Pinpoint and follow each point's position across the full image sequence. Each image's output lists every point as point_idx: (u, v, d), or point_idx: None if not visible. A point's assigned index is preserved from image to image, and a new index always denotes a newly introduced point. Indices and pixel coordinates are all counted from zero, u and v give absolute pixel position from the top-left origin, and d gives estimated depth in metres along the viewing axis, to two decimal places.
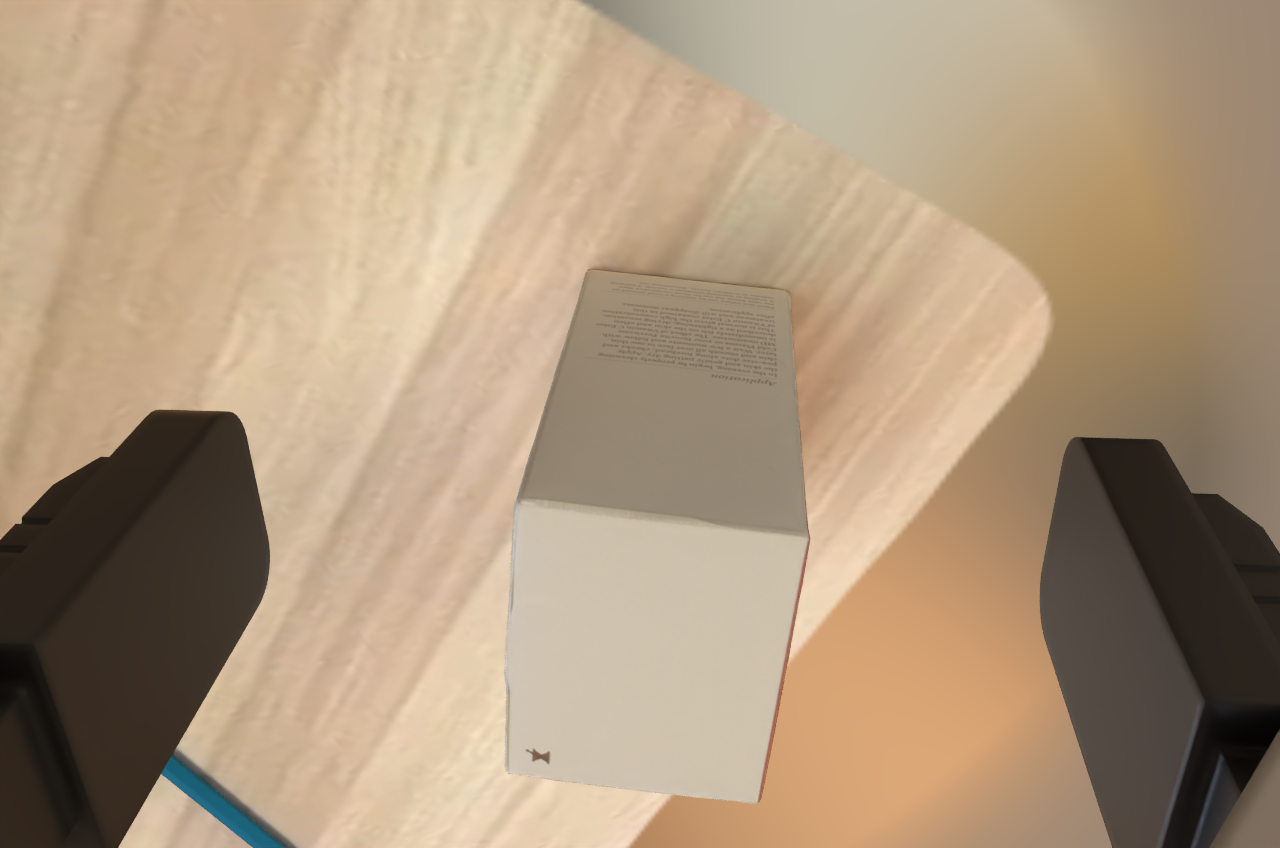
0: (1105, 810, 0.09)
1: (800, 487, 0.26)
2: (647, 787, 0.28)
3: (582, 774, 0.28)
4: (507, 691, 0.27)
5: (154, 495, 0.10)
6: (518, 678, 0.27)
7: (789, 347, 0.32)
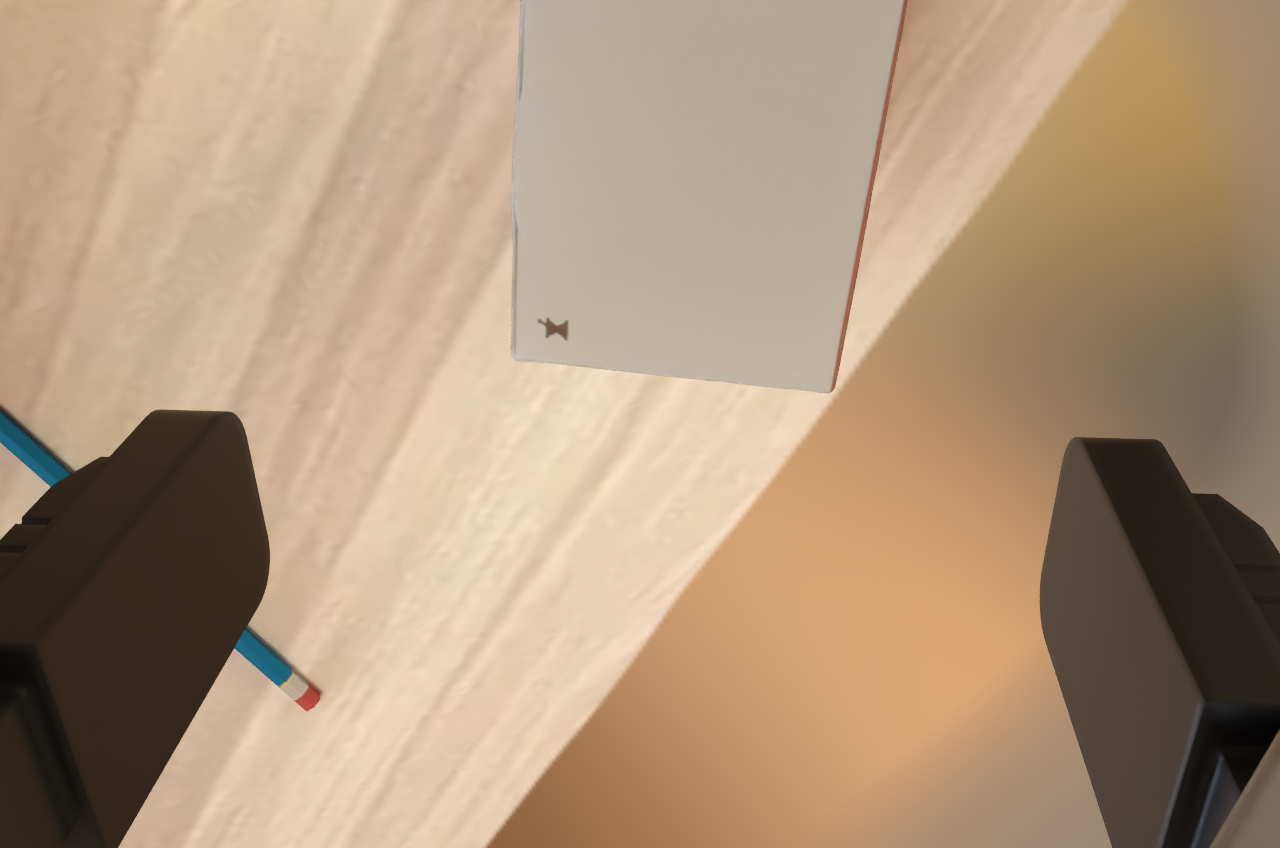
0: (1106, 810, 0.09)
1: None
2: (691, 372, 0.22)
3: (608, 356, 0.22)
4: (514, 229, 0.21)
5: (154, 495, 0.10)
6: (529, 206, 0.21)
7: None
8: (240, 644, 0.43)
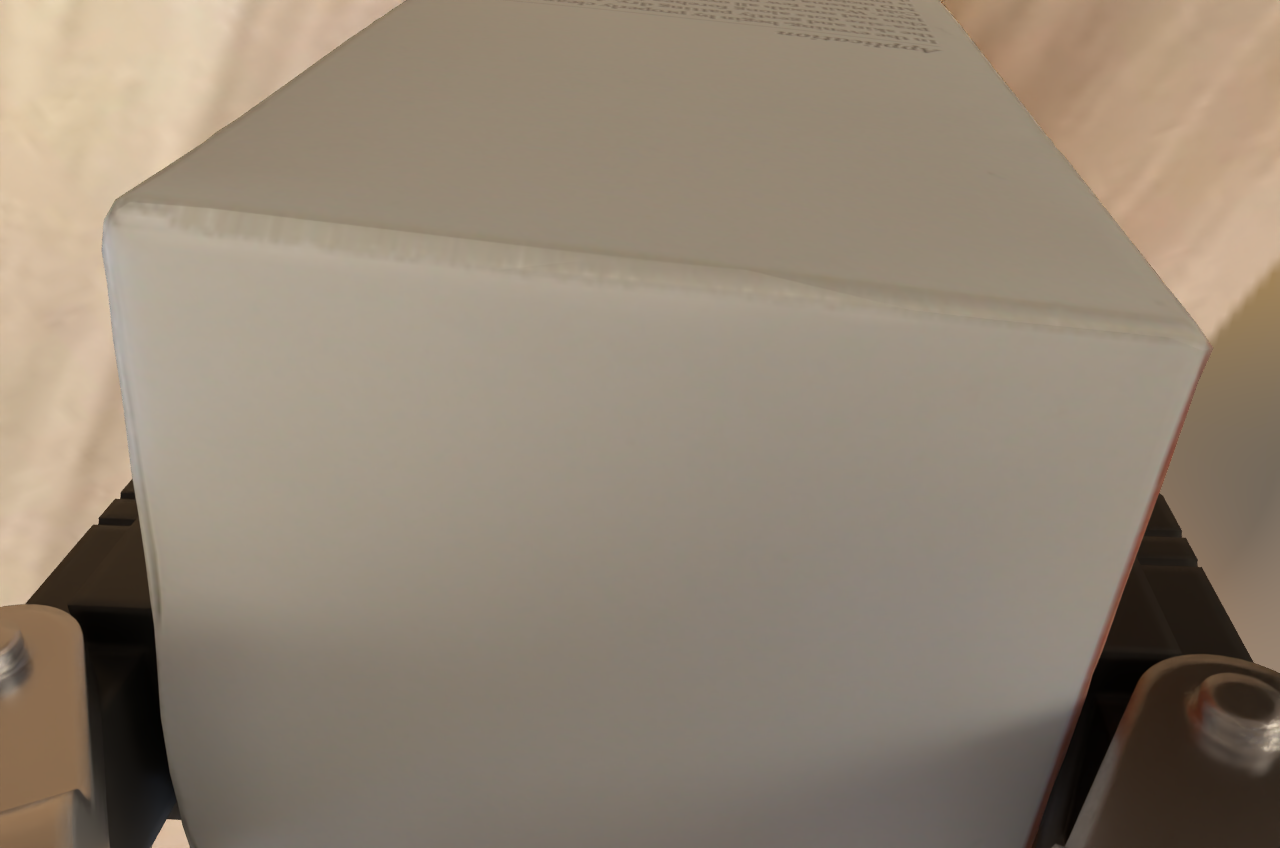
0: None
1: (1105, 216, 0.08)
2: None
3: None
4: None
5: None
6: (219, 825, 0.09)
7: (947, 14, 0.14)
8: None
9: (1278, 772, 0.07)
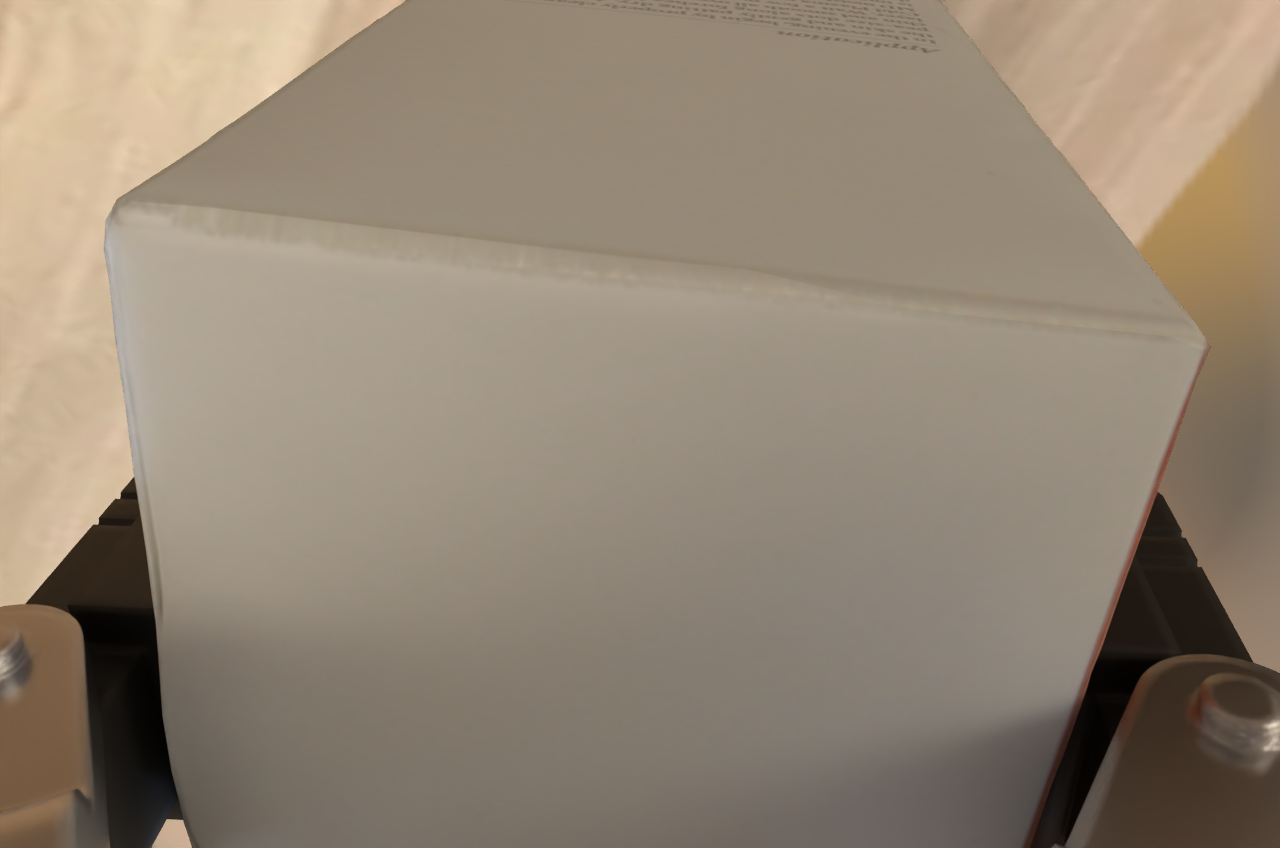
0: None
1: (1104, 215, 0.08)
2: None
3: None
4: None
5: None
6: (220, 823, 0.09)
7: (947, 14, 0.14)
8: None
9: (1277, 772, 0.07)
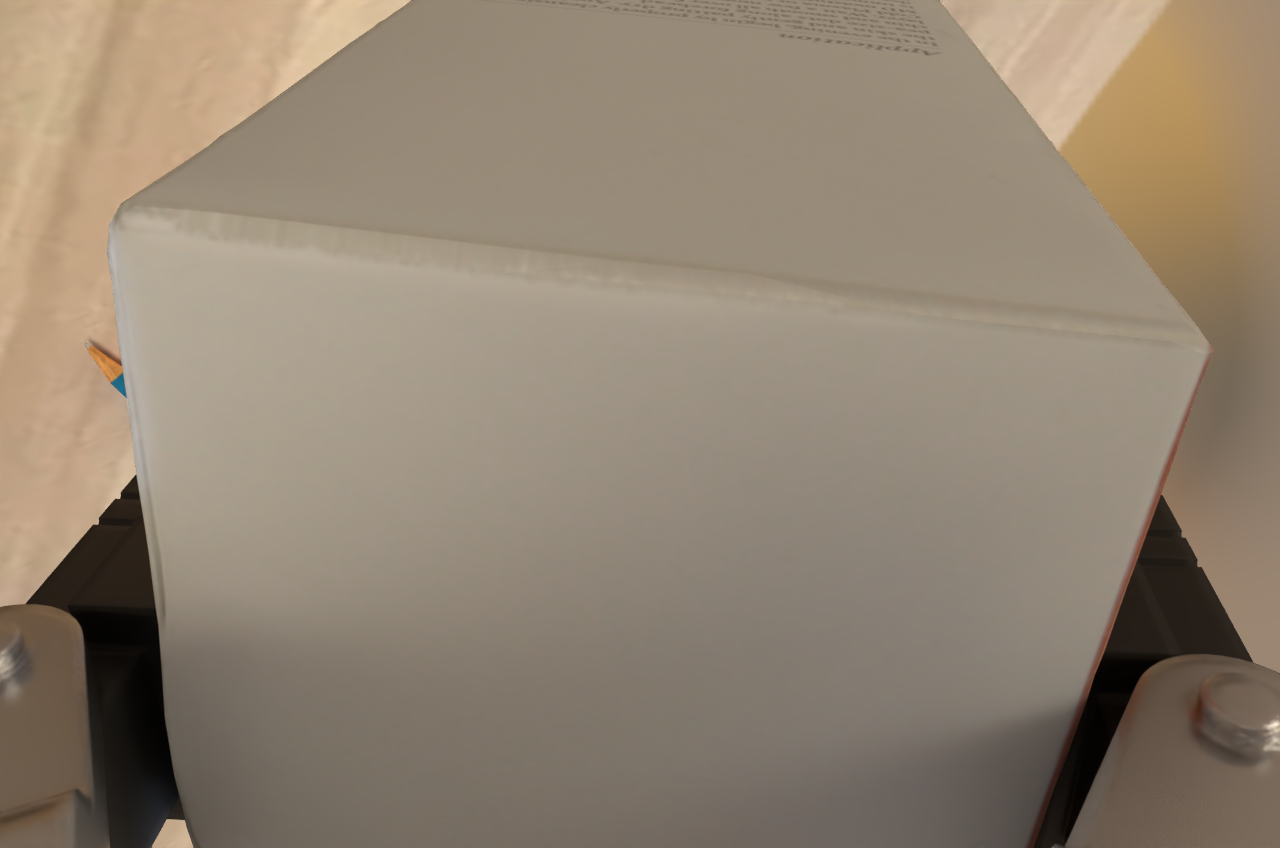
0: None
1: (1107, 219, 0.08)
2: None
3: None
4: None
5: None
6: (223, 825, 0.09)
7: (948, 16, 0.14)
8: None
9: (1277, 772, 0.07)
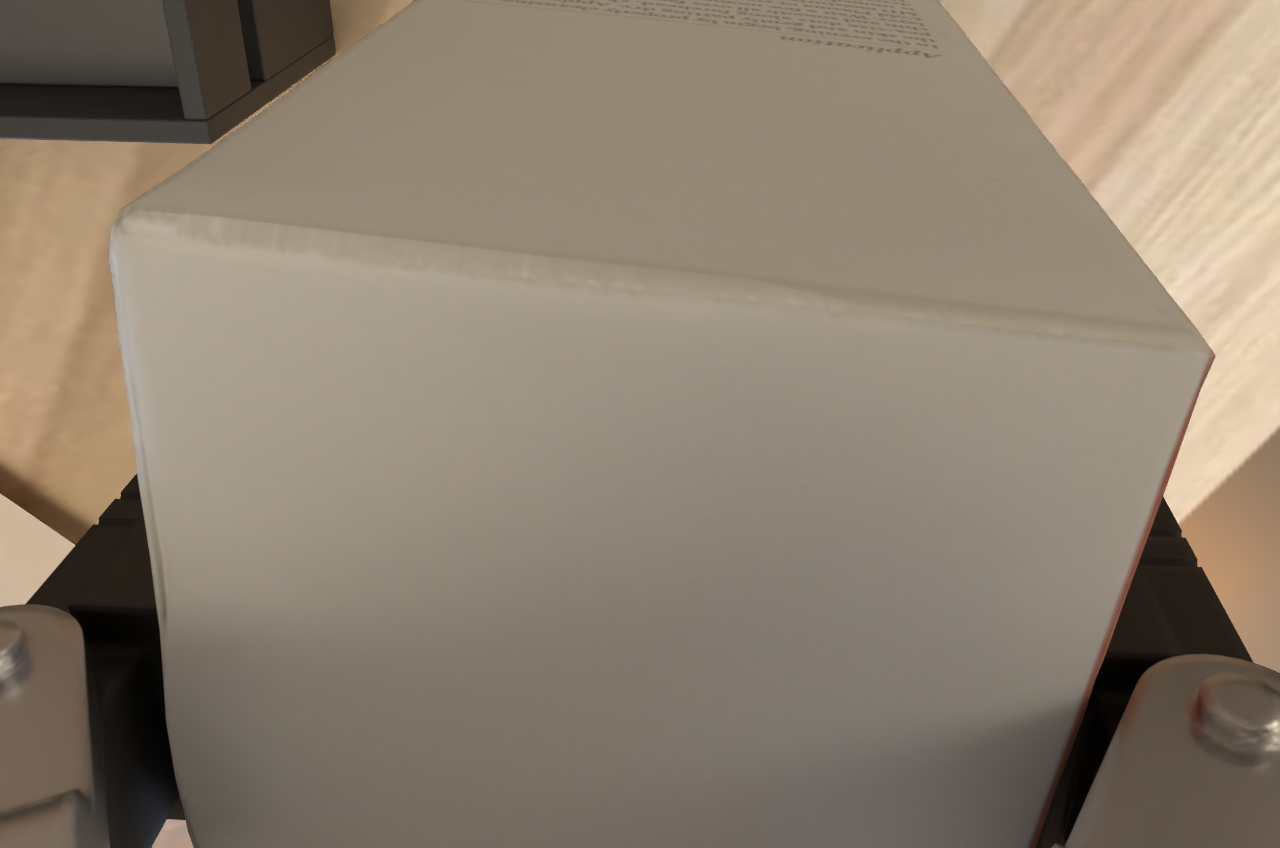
0: None
1: (1108, 223, 0.08)
2: None
3: None
4: None
5: None
6: (223, 829, 0.09)
7: (949, 19, 0.14)
8: None
9: (1277, 772, 0.07)
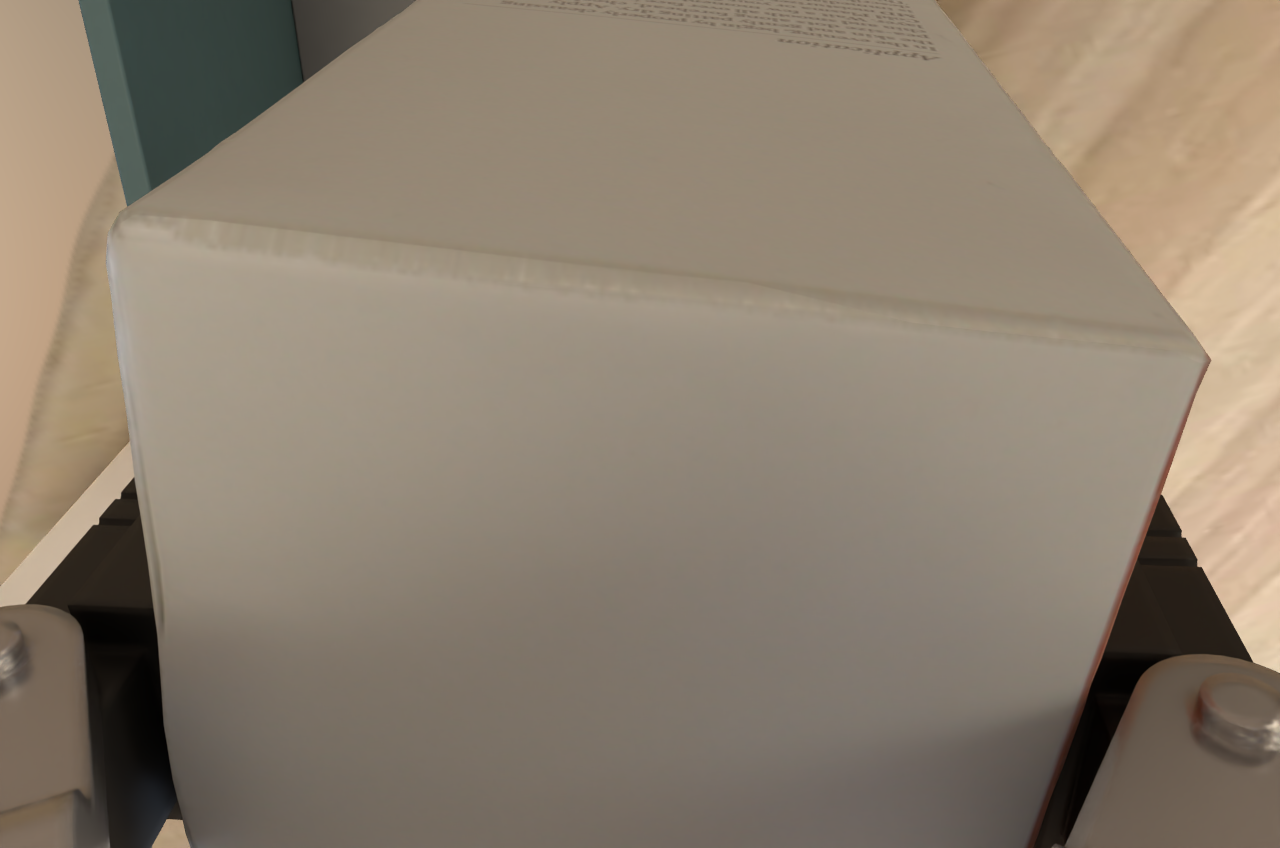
0: None
1: (1104, 226, 0.08)
2: None
3: None
4: None
5: None
6: (221, 831, 0.09)
7: (947, 21, 0.14)
8: None
9: (1277, 772, 0.07)
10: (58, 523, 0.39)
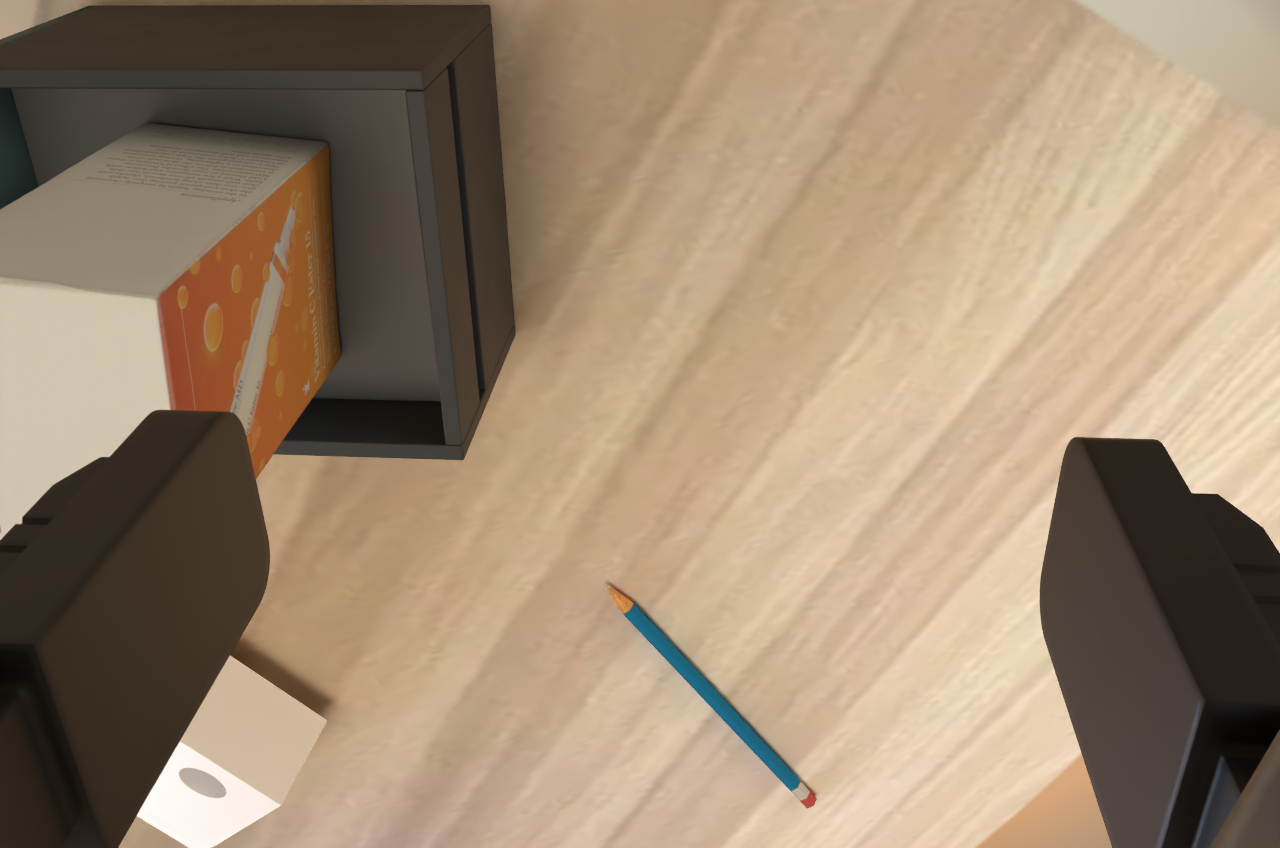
0: (1105, 810, 0.09)
1: (183, 267, 0.29)
2: None
3: None
4: None
5: (154, 495, 0.10)
6: None
7: (281, 178, 0.35)
8: (770, 762, 0.59)
9: None
10: None
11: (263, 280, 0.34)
